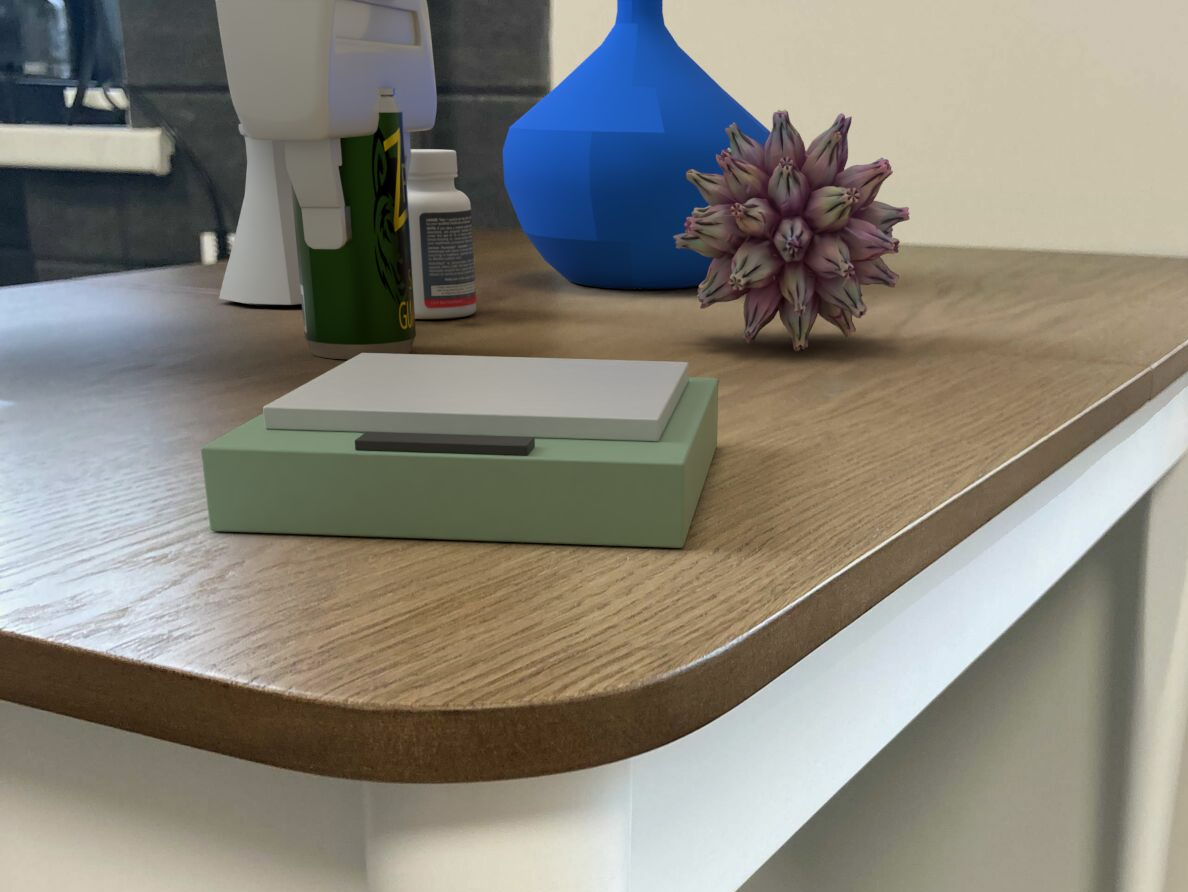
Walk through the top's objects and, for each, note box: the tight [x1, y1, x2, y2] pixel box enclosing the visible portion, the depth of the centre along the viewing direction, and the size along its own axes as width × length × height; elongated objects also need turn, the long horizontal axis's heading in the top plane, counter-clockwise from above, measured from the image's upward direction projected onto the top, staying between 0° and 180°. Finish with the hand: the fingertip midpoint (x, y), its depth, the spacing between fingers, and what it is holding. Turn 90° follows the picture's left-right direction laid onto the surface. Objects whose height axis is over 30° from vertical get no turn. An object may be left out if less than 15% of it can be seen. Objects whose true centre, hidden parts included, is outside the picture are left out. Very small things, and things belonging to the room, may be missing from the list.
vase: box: [502, 0, 771, 291], centre depth 101 cm, size 18×18×19 cm
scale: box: [200, 353, 719, 549], centre depth 50 cm, size 14×14×3 cm
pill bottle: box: [407, 148, 477, 320], centre depth 86 cm, size 5×5×9 cm
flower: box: [674, 109, 910, 352], centre depth 77 cm, size 12×12×12 cm
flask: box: [218, 123, 302, 306], centre depth 90 cm, size 7×7×10 cm
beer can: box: [291, 88, 417, 361], centre depth 73 cm, size 5×5×12 cm
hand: (360, 238), depth 73 cm, fingers open, 8 cm apart
